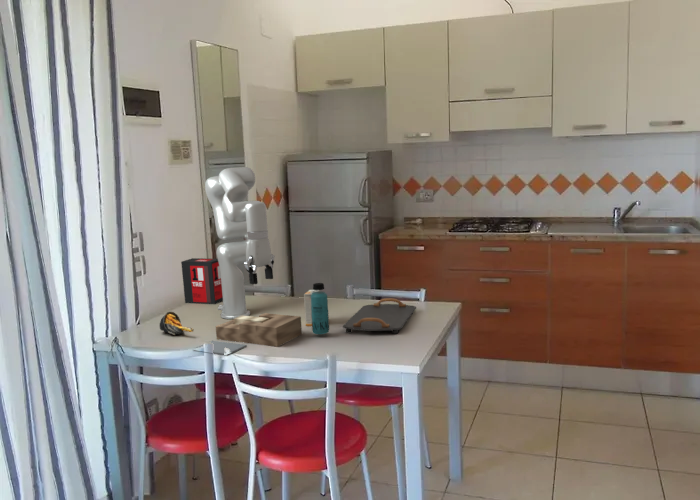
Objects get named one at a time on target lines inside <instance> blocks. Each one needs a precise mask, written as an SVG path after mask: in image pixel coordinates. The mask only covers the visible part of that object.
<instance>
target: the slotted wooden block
mask: <svg viewBox="0 0 700 500" xmlns="http://www.w3.org/2000/svg"><path fill="white" fill-rule="evenodd" d="M258 317H263V318H269V320H267V321H265V322H263V323H260V322H250V321H245V322H242V323H240V324H239V325H238V324H235V322H234V319H230V320H228V321H226V322H223V323H220V324H218V325H216V326H215V334H216V340H219V339H221V341H227V340H228V342H229V341H230V342H235V341H236V342H237V343H243V342H244V344H251V345H252V344H253V345H261V346H270V347H276V348H278V347H280V346H282V345H285V344H286V343H288V342H290V341H292V340H294V339H296V338H297V337H301V336H302V335H303V331H302V317H301V316H300V315H290V314H289V315H288V314H287V315H286V314H278V313H277V314H276V313H268V312H264V313H261V314H260V315H258Z"/></svg>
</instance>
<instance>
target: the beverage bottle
mask: <svg viewBox="0 0 700 500" xmlns="http://www.w3.org/2000/svg"><path fill="white" fill-rule="evenodd" d="M312 290H320V291H318V292H314V293H312V295H311V312H312V315H311V317H312V326H311V329H312V330H311V331H312V333H313V334H315V335H324V334H325V335H326V334H328V333H329V332H330V319H329V317H330V316H329V306H328V305H329V304H328V303H329V302H328V294H327V293H326V292H325V291H322V290H325V285H324V283H322V282H315V283H313V284H312Z"/></svg>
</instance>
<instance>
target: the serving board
mask: <svg viewBox="0 0 700 500" xmlns="http://www.w3.org/2000/svg"><path fill="white" fill-rule="evenodd" d="M384 302H393V303H384ZM395 303H396V304H395ZM416 309H417V306H415V305H408V304H406V303H403V302H402V301H401V300H400V299H397V298H391V297H388V298H381V299H380V300H378V301H377V302H376V303H373V304H365V305H363V306H362V307H360V308H359V309H358V311H357V312H355V313H354V314H353V315H352V316H351V317H350V318H349V319H348V320H347V321H346V322H345V323H344V324H343V325H342V328H343V329H346V330H345V331H346V332H345V333H346V334H347V333H352V330H353V331H365V332H367V331H368V332H371V331H372V332H376V331H377V332H382V331H392V332H391V333H392V334H393V335H398V334H399V330H401V329H402V328H403V327H404V326H405V324H406V323H407V321H408V320H409V319H410V318H411V316H412V315H413V314H414V312H415V311H416Z"/></svg>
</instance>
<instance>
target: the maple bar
mask: <svg viewBox="0 0 700 500" xmlns="http://www.w3.org/2000/svg"><path fill="white" fill-rule="evenodd" d="M267 320H269V318H263V317H259V316H253V315H252V316H251V315H248V316H243V315H242V316H239V317H237V318H234V322H235V324H238V325H239V324H240V323H242V322H245V321H250V322H260V323H263V322H265V321H267Z"/></svg>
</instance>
